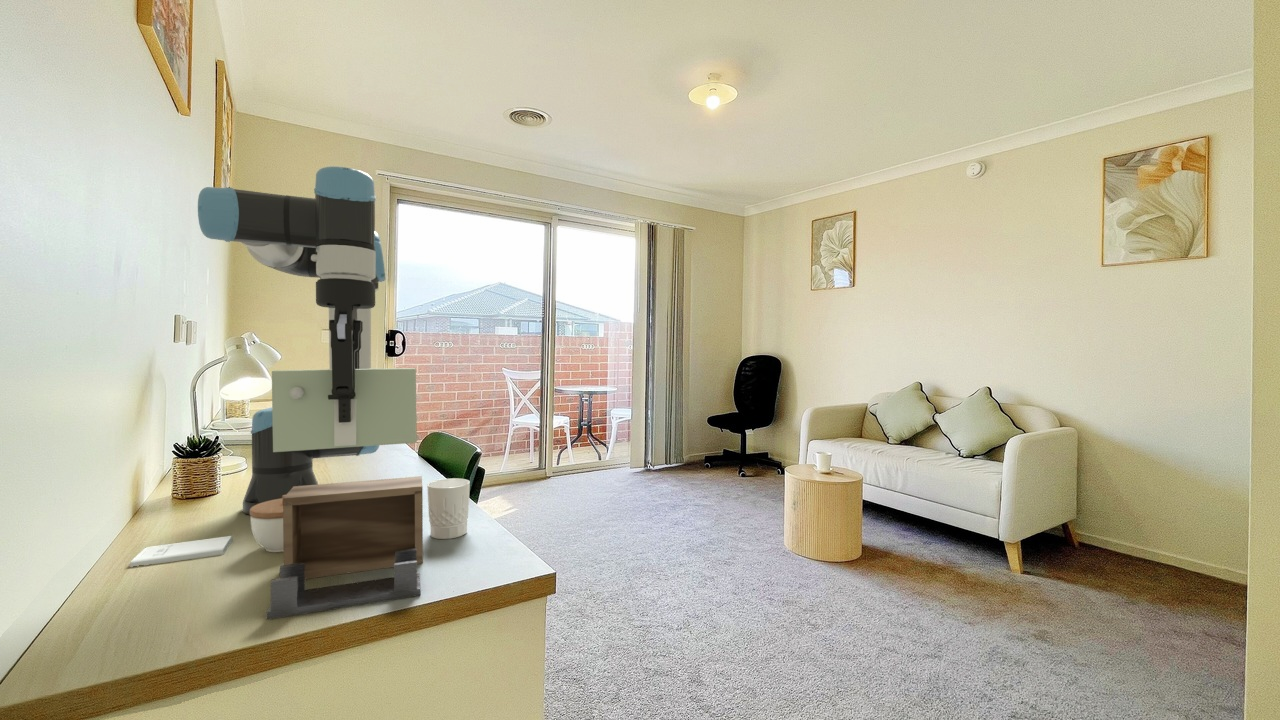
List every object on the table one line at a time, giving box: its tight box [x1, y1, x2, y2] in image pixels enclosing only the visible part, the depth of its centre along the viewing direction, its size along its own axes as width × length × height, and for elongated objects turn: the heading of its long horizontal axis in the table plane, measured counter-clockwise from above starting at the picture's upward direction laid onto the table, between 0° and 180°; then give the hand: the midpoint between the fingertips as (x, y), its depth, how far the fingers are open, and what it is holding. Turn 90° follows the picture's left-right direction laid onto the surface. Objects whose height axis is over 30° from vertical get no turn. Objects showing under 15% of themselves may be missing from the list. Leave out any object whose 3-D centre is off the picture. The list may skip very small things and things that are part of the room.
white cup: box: [426, 477, 471, 540], centre depth 106 cm, size 8×8×10 cm
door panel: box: [271, 367, 418, 452], centre depth 78 cm, size 18×4×11 cm, turn 113°
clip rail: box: [266, 548, 422, 621], centre depth 79 cm, size 6×19×5 cm, turn 113°
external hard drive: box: [129, 535, 233, 568], centre depth 96 cm, size 2×8×12 cm
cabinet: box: [282, 475, 424, 580], centre depth 91 cm, size 8×20×13 cm, turn 113°
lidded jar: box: [249, 495, 286, 553], centre depth 99 cm, size 11×11×9 cm
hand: (347, 442), depth 78 cm, fingers closed on door panel, 3 cm apart
